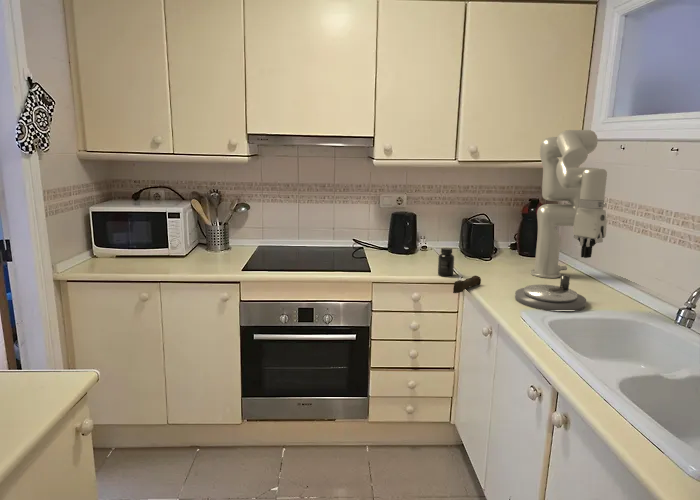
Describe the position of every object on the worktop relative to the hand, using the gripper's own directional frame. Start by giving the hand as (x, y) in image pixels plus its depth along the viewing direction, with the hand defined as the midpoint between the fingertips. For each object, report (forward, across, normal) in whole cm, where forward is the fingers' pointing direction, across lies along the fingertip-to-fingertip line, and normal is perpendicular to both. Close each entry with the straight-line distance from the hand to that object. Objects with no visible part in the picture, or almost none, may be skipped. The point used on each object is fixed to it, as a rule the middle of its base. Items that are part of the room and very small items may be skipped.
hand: (585, 257), depth 167 cm
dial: (+15, +8, +7) cm, 18 cm away
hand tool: (+18, +33, +24) cm, 45 cm away
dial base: (+18, +8, +7) cm, 20 cm away
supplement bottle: (+17, +55, +19) cm, 60 cm away
